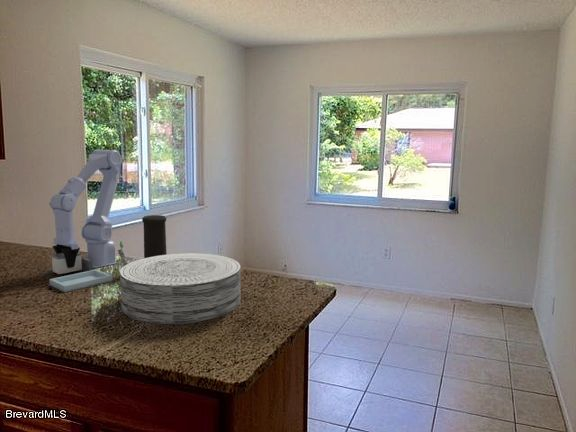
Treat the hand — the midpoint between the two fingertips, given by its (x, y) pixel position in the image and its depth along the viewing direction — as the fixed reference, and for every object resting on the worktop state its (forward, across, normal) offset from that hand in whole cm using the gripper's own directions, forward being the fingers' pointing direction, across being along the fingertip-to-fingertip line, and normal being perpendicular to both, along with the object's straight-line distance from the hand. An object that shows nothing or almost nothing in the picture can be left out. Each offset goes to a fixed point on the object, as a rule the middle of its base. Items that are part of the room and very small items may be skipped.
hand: (67, 266), depth 165 cm
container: (+3, +16, +25) cm, 30 cm away
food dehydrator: (+3, +51, +9) cm, 52 cm away
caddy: (+2, 0, 0) cm, 2 cm away
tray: (+3, +14, -2) cm, 14 cm away
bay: (+3, 0, 0) cm, 3 cm away
